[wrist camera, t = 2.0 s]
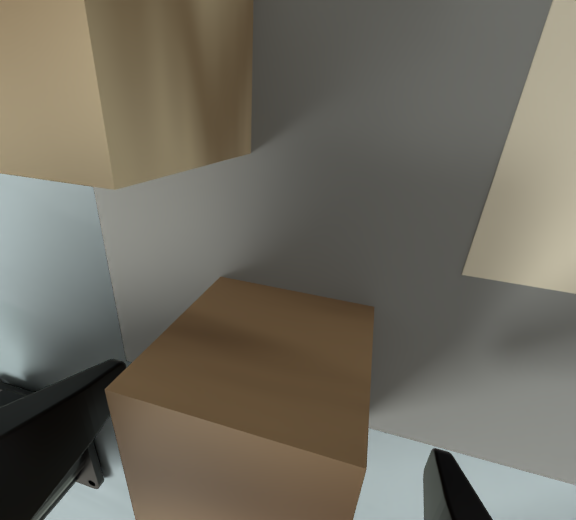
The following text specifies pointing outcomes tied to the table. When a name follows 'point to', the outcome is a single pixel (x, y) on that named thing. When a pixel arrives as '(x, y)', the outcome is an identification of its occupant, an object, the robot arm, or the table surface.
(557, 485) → the table surface
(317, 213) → the board
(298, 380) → the block
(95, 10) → the block
